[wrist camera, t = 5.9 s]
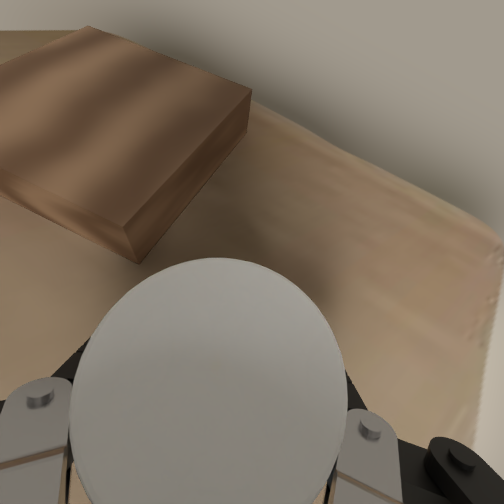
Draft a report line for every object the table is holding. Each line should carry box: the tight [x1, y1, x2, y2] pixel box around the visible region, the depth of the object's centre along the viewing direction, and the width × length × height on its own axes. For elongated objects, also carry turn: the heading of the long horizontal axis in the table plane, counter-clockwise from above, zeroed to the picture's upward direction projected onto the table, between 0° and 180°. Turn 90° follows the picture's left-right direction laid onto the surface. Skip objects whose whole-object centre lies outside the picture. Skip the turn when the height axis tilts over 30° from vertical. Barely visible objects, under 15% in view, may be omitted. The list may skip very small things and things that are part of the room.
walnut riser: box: [0, 26, 252, 264], centre depth 21 cm, size 16×16×4 cm
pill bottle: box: [69, 258, 348, 504], centre depth 9 cm, size 6×6×11 cm
